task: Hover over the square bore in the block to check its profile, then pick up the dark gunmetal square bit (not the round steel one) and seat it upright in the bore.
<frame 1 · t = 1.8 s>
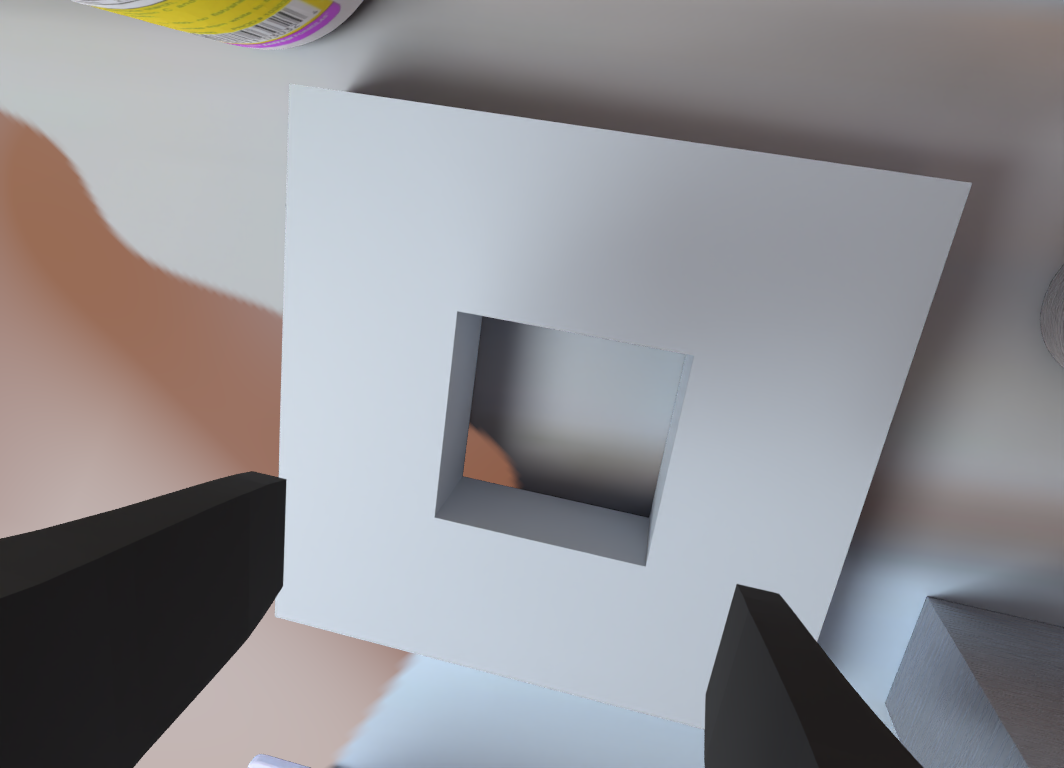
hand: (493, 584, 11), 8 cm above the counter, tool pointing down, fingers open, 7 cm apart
square bit: (975, 668, 19), on the counter
bore block: (569, 408, 19), on the counter
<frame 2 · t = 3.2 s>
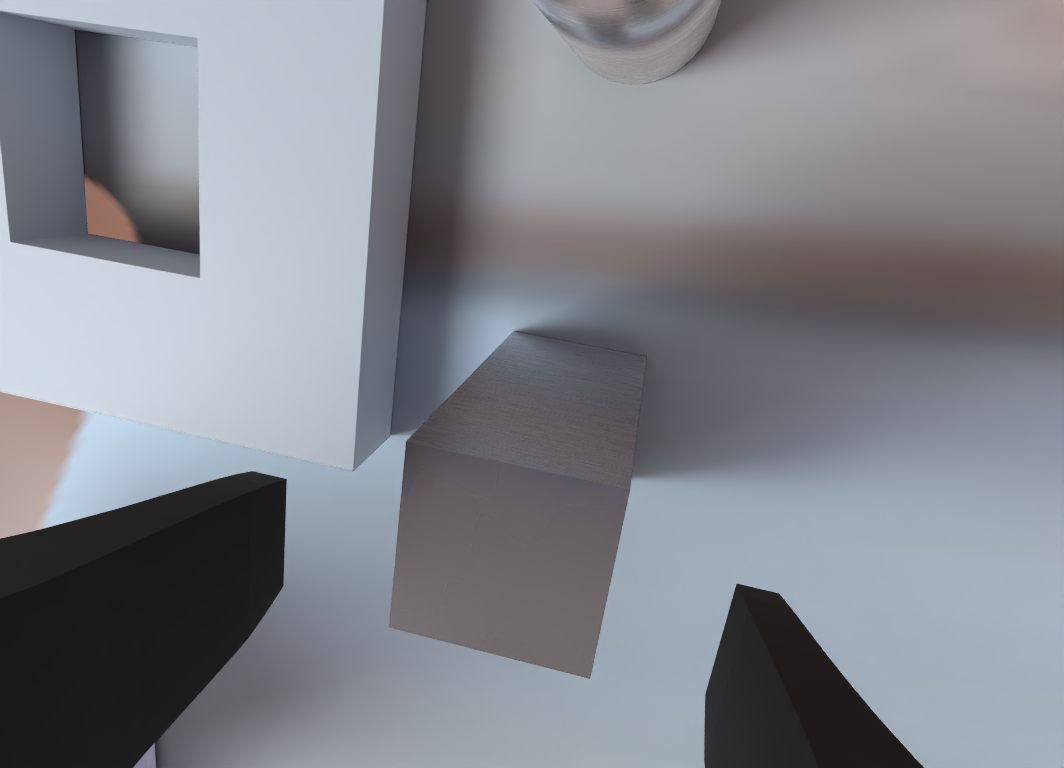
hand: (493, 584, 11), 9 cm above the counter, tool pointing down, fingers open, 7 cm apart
square bit: (568, 406, 19), on the counter
bore block: (168, 150, 19), on the counter
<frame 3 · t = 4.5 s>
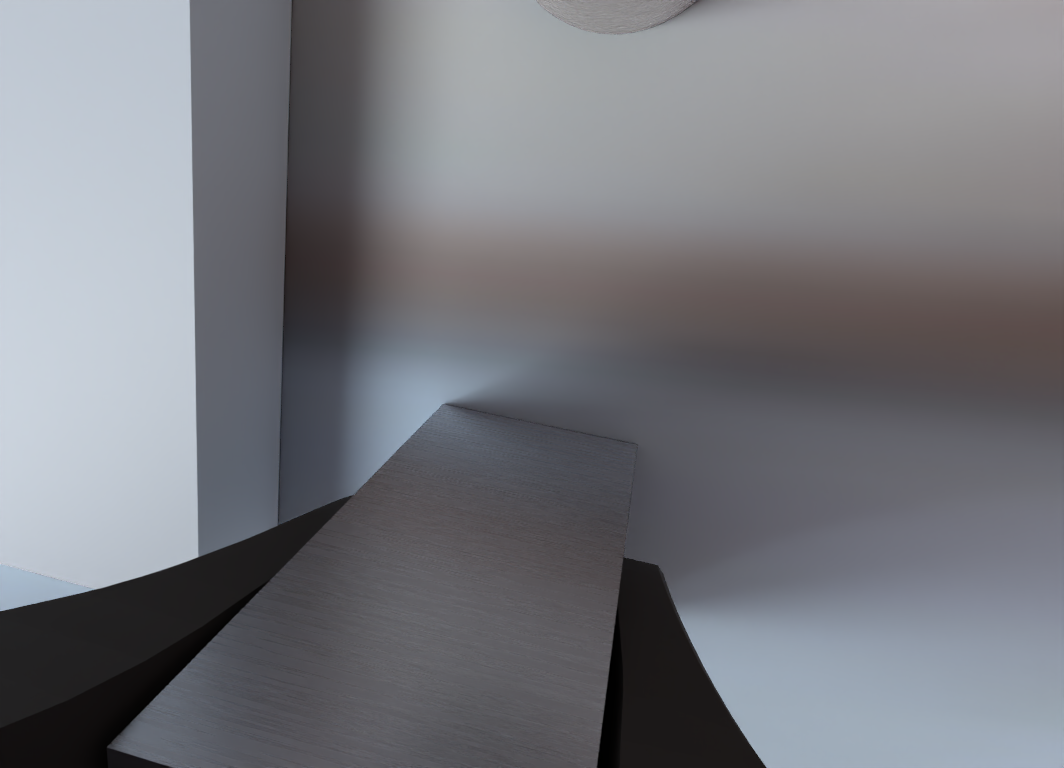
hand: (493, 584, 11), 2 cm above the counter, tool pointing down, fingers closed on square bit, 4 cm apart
square bit: (524, 511, 13), on the counter, touching gripper
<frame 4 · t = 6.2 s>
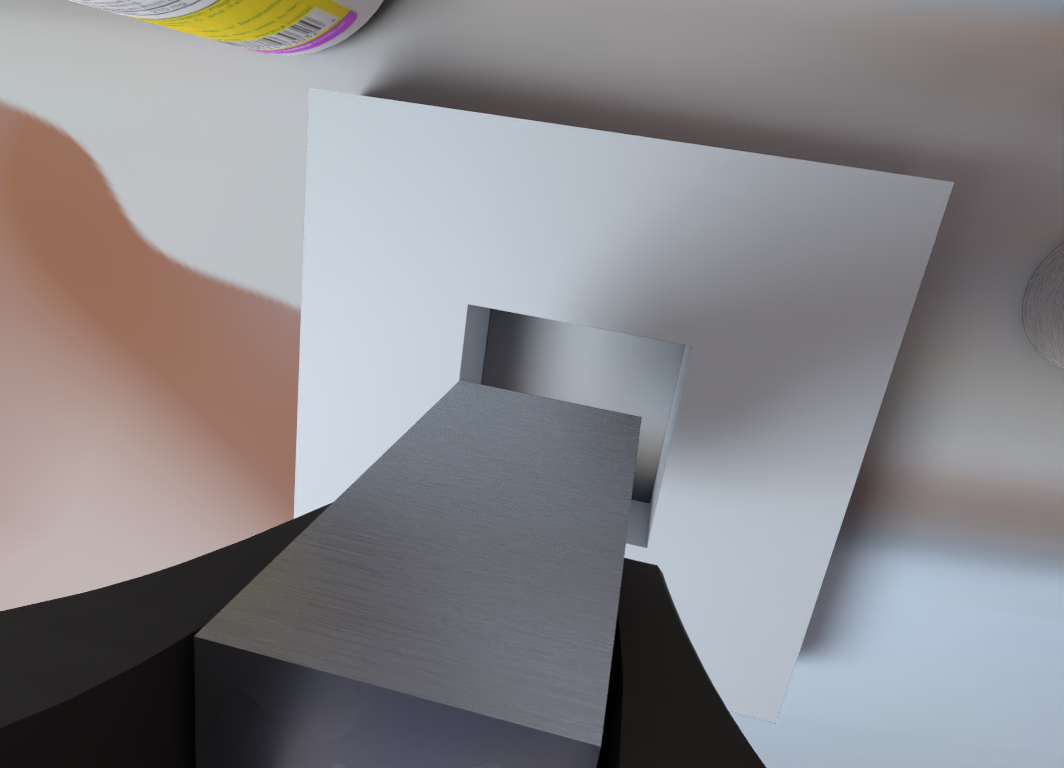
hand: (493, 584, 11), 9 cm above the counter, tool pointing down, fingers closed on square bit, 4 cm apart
square bit: (535, 481, 14), point 6 cm above the counter, touching gripper
bore block: (573, 398, 19), on the counter
when the fingers open (3 cm above the counter, at t = 7.9 s): square bit stays where it is, resting in bore block.
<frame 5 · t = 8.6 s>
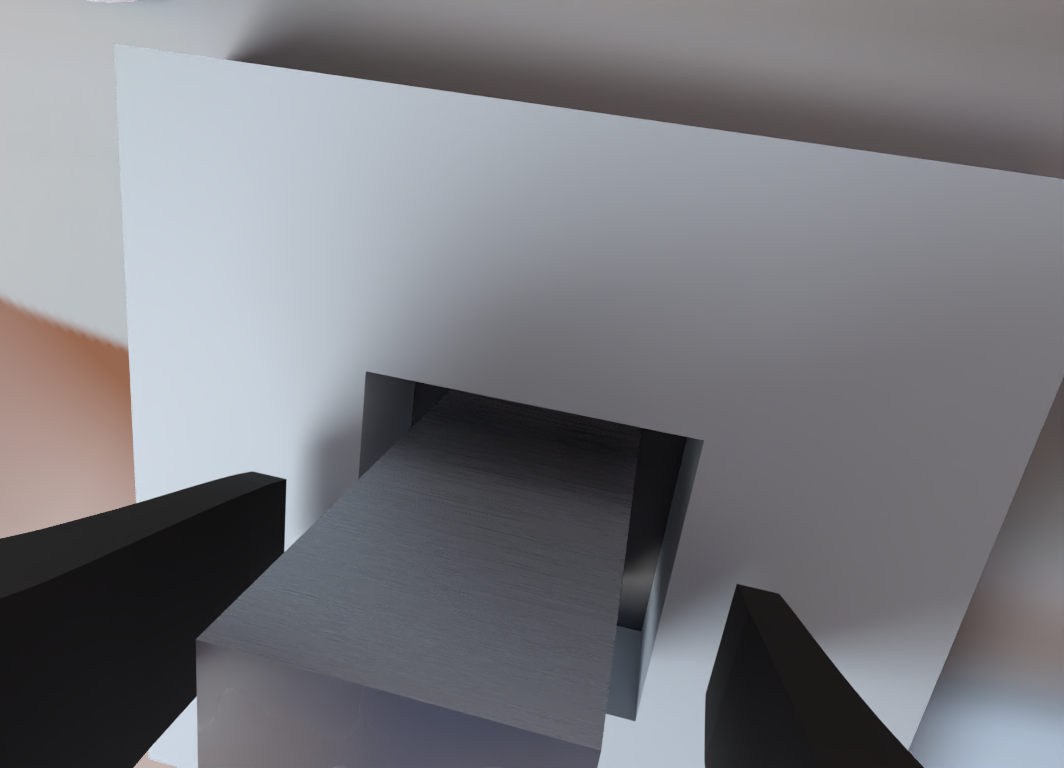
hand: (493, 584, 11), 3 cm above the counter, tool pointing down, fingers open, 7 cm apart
square bit: (536, 480, 14), resting in bore block
bore block: (534, 488, 14), on the counter
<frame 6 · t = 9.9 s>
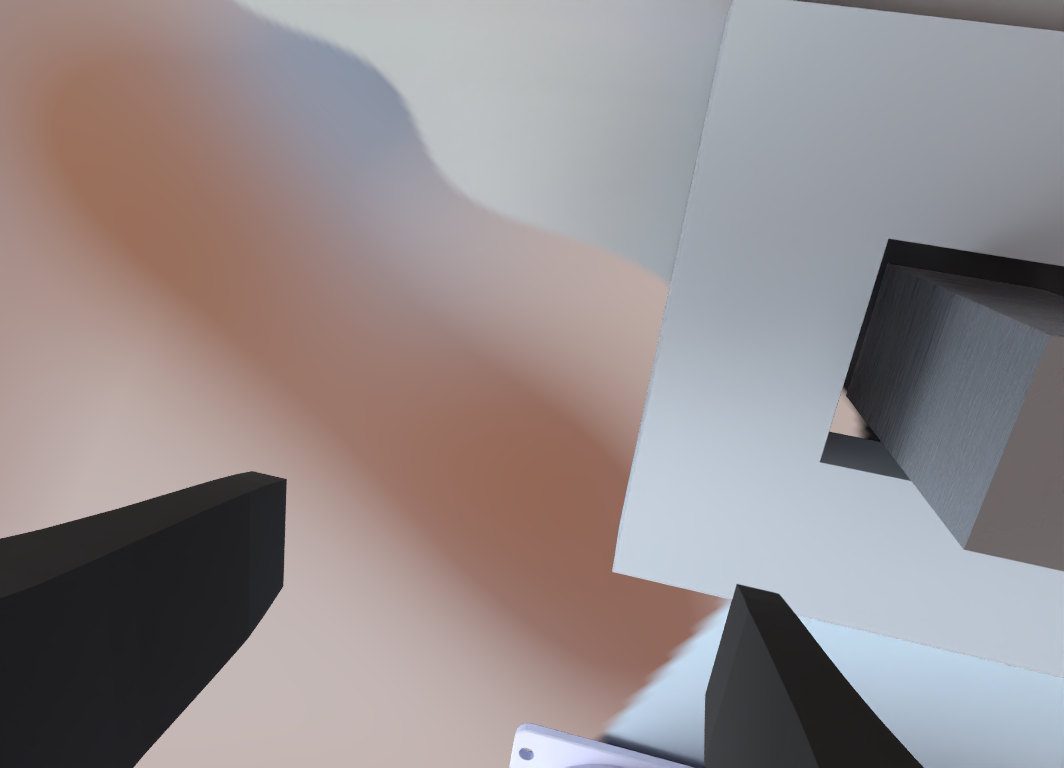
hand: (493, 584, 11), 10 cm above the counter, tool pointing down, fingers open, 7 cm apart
square bit: (938, 344, 18), resting in bore block
bore block: (936, 351, 18), on the counter
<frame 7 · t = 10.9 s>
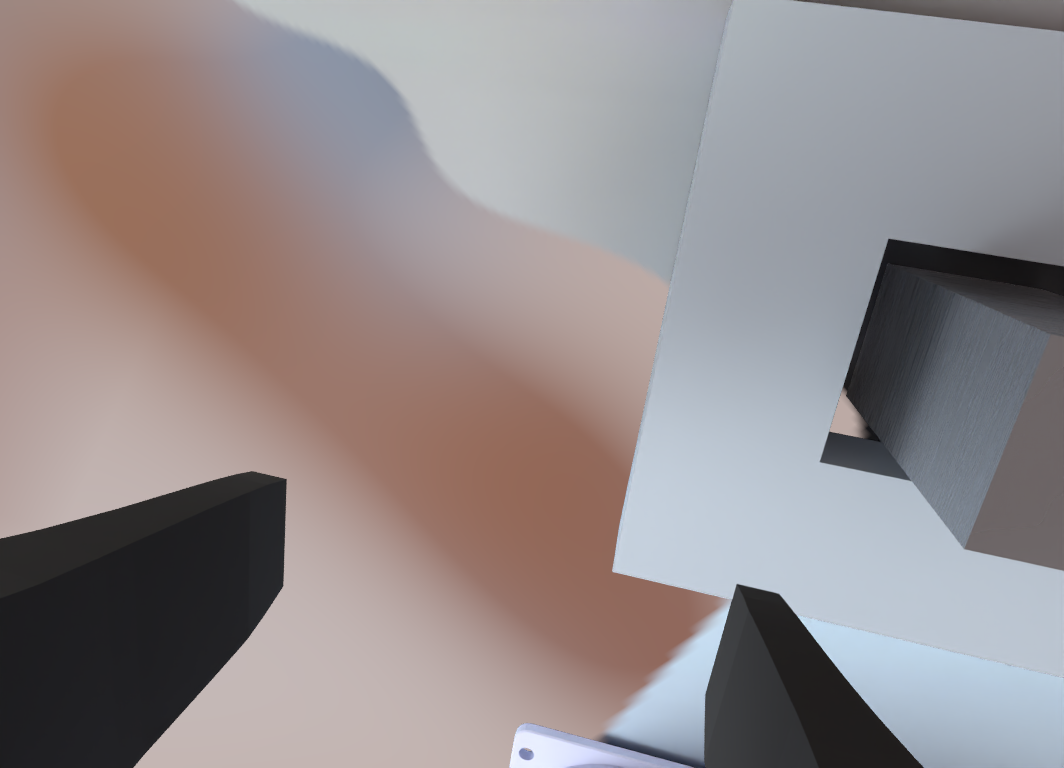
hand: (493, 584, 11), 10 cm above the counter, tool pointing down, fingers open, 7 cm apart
square bit: (938, 344, 18), resting in bore block
bore block: (936, 351, 18), on the counter
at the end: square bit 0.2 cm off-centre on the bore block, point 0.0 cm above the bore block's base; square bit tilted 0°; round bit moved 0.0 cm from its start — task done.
